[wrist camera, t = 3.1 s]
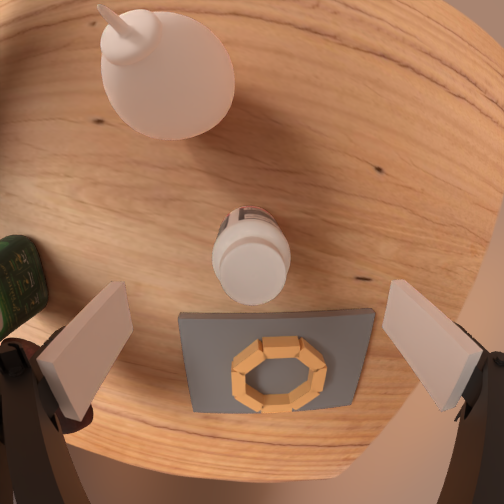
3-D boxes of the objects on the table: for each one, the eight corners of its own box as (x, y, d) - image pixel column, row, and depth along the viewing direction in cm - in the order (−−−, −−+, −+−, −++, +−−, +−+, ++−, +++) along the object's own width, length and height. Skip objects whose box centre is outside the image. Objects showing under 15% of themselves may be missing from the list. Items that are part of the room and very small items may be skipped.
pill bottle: (241, 273, 27) (240, 330, 18) (207, 226, 26) (187, 264, 16) (290, 242, 26) (314, 286, 17) (257, 192, 25) (266, 211, 16)
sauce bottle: (244, 133, 23) (247, 67, 6) (158, 154, 24) (12, 155, 6) (227, 54, 21) (205, -90, 4) (144, 76, 21) (19, -10, 4)
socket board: (180, 312, 28) (174, 328, 25) (371, 307, 29) (382, 321, 26) (194, 405, 33) (191, 422, 30) (348, 398, 33) (354, 414, 30)
